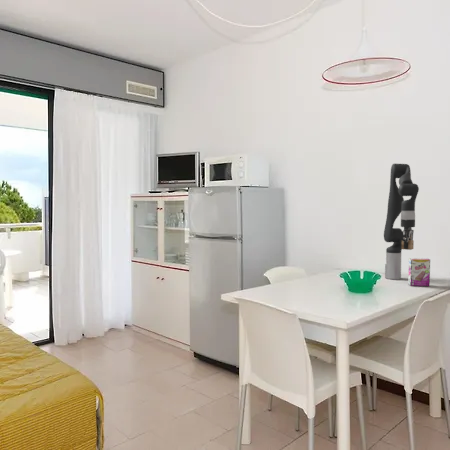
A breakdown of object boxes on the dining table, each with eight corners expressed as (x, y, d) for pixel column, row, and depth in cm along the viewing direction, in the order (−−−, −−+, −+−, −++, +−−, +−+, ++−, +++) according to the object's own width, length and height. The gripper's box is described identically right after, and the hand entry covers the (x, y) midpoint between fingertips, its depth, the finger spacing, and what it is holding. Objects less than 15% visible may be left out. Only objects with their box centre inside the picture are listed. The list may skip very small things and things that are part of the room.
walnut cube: (401, 249, 240) (401, 240, 240) (404, 248, 244) (404, 239, 244) (410, 249, 237) (410, 241, 237) (413, 249, 241) (413, 240, 241)
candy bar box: (410, 286, 251) (411, 259, 250) (407, 284, 256) (408, 258, 255) (430, 286, 250) (430, 259, 249) (427, 284, 255) (427, 258, 254)
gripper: (405, 218, 247) (404, 246, 248) (396, 219, 237) (396, 249, 237) (418, 218, 243) (418, 247, 244) (410, 219, 232) (410, 250, 233)
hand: (407, 248), depth 240 cm, fingers closed on walnut cube, 5 cm apart
